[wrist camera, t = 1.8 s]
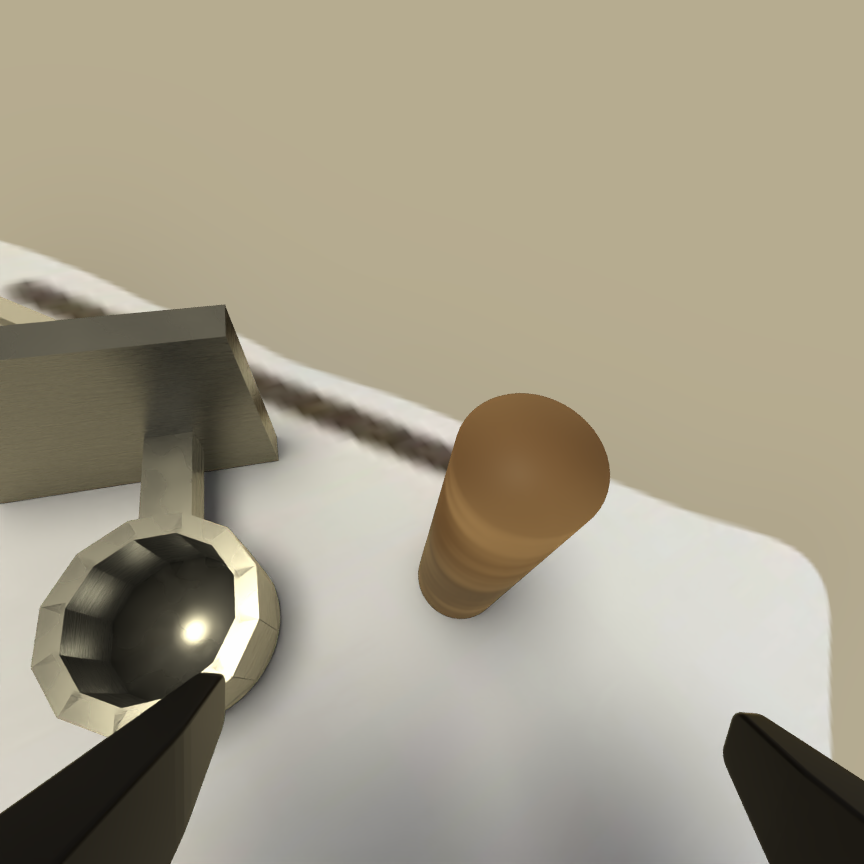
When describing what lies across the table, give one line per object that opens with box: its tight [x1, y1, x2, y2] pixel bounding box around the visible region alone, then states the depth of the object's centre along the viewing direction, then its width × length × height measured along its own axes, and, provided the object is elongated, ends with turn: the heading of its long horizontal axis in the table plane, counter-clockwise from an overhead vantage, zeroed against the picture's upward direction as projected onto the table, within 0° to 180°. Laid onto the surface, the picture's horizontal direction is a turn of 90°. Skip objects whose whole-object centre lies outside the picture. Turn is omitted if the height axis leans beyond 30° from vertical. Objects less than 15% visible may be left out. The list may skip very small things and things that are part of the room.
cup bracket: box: [0, 305, 280, 737], centre depth 18 cm, size 13×13×10 cm
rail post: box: [418, 393, 610, 619], centre depth 18 cm, size 4×4×13 cm
